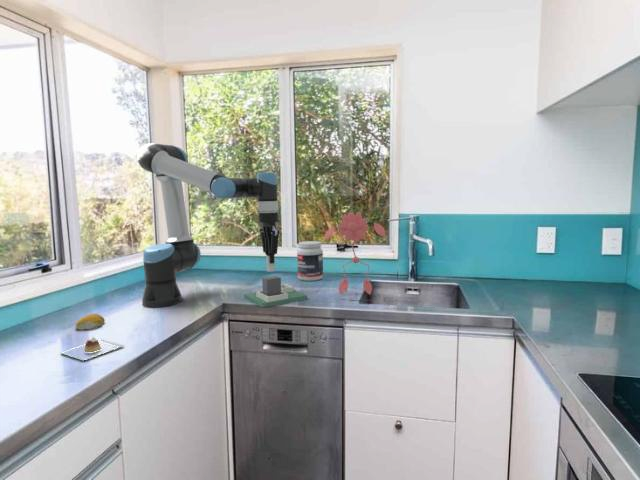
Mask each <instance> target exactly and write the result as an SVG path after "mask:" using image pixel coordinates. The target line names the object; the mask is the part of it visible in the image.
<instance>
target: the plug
mask: <svg viewBox="0 0 640 480" xmlns="http://www.w3.org/2000/svg"><path fill="white" fill-rule="evenodd" d="M261 279H262V291H263V294H265V295H267V296H274V295H280V294H281V284H282V277H280V276H277V275H271V276H264V277H261Z"/></svg>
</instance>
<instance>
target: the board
mask: <svg viewBox="0 0 640 480" xmlns="http://www.w3.org/2000/svg"><path fill="white" fill-rule="evenodd" d="M243 296H244V298H243V299H246V300H248V301H250V302H251V303H253V304H256V305H257V306H258V307H261V308H266V307H267V308H268V307H271V306H277V305H278V306H279V305H283V304H288V303H294V302H298V301H303V300H307V299H308V295H307V294H304V293H302V292H301V291H297V290H294V286H292V285H289V284H286V283H281V294H280V295H274V296H267V295H265V294H263V290H258V291H255V292H249V293H244V295H243Z"/></svg>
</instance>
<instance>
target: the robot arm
mask: <svg viewBox="0 0 640 480" xmlns="http://www.w3.org/2000/svg"><path fill="white" fill-rule="evenodd" d="M137 163H138V165H139V166H140V167H141V168H142V169H143V170H144V171H146V172H149V173H151V174H155V178H156V180H157V181H158V182H160V188H161V194H162V201H163V211H164V215H165V223H166V224H165V225H166V229H167V235H168V236H167V237H168V238H167V239H166V240H165V243H159V244H153V245H150V246H148V247H146V248H145V249H144V250H143V257H142V261H143V269H144V280H145V287H144V291H143V294H142V295H143V296H142V297H141V298H142V299H141V301H142V303H141V305H142V306H143V307H146V308H162V307H168V306H174V305H176V304H177V305H178V304H179V303H181V302H182V301H183V300H182V299H183V298H182V293H181V290H180V287H179V286H178V283H177V277H176V276H177V275H176V274H177V273H181V272H184V271H189V270H191V269H193V268H195V267H196V266H197V265H198V263H200V259H201V257H202V254H201V249H200V247H199V246H198V245H197V244H196V243H195V242H194V238H193V237H192V236H191V235H190V231H189V225H188V216H187V210H186V203H185V197H184V196H185V195H184V188H183V183H186V184H188V185H191V186H194V187H196V188H199V189H201V190H204V191H207V192H209V193H212V194H213V195H214V196H215V198H218V199H223V200H226V199H227V200H228V199H239V198H240V199H242V198H243V199H245V198H258V201H257V202H258V206H257V207H258V212H259V213H258V218H259V219H258V221H259V223H262V227H261V228H260V229H259V232H260V236H261V244H262V246H261V247H262V252H263V253H265V258H266V259H265V261H266V272H275V271H276V267H275V266H276V263H275V255H276V254H277V255H278V245H279V234H280V230H278V229H277V226H276V223H278V222H279V213H278V211H279V209H278V208H279V203H278V200H279V199H278V180H277V174H276V172H273V171H271V172H267V171H266V172H264V171H263V172H258V173H257V175H256V177H255V178H254V177H252V178H251V177H250V178H247V177H246V178H245V177H244V178H243V177H242V178H241V177H239V178H238V177H236V178H235V177H228V176H225V175H222V174H220V173H217V172H215V171H212V170H209V169H206V168H203V167H201V166H198V165H196V164H194V163H193V164H192V163H191V162H189V158H188V155H187V153H186V152H185V151H184V150H183V149H182V148H180V147H179V146H176V145H172V144H171V145H169V144H160V143H155V142H152V143H151V142H150V143H146V144H144V145H143V146H141V147H140V148H139V150H138V153H137Z"/></svg>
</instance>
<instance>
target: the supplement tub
mask: <svg viewBox="0 0 640 480" xmlns="http://www.w3.org/2000/svg"><path fill="white" fill-rule="evenodd" d="M298 247H299V248H298V249H297V251H296V252H297V253H296V256H297V260H296V261H297V264H296V265H297V278H298V280H301V281H304V282H315V281H320V280H322V279H323V277H324V255H323V254H324V251H323V249H322V242H321V241H319V240H318V241H316V240H315V241H312V240H311V241H309V240H307V241H306V240H305V241H300V242H298Z"/></svg>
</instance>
